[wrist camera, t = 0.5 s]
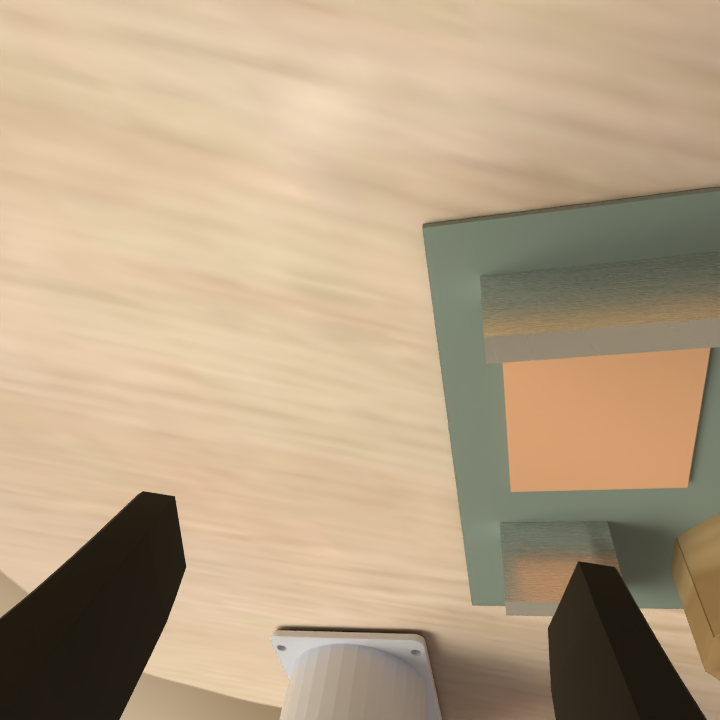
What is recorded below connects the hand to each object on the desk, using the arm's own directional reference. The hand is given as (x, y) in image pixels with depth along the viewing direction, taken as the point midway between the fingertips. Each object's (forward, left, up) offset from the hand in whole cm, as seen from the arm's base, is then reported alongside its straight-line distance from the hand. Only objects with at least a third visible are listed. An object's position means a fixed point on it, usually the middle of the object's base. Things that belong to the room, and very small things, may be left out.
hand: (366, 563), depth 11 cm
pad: (-5, -6, -10) cm, 12 cm away
